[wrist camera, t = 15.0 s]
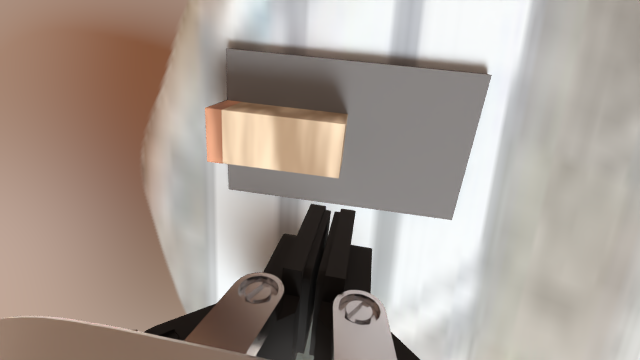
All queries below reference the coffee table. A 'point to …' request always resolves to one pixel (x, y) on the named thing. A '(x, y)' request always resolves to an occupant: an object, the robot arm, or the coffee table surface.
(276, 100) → the mat
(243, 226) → the coffee table surface
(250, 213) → the coffee table surface
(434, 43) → the coffee table surface
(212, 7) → the coffee table surface
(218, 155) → the maple block
